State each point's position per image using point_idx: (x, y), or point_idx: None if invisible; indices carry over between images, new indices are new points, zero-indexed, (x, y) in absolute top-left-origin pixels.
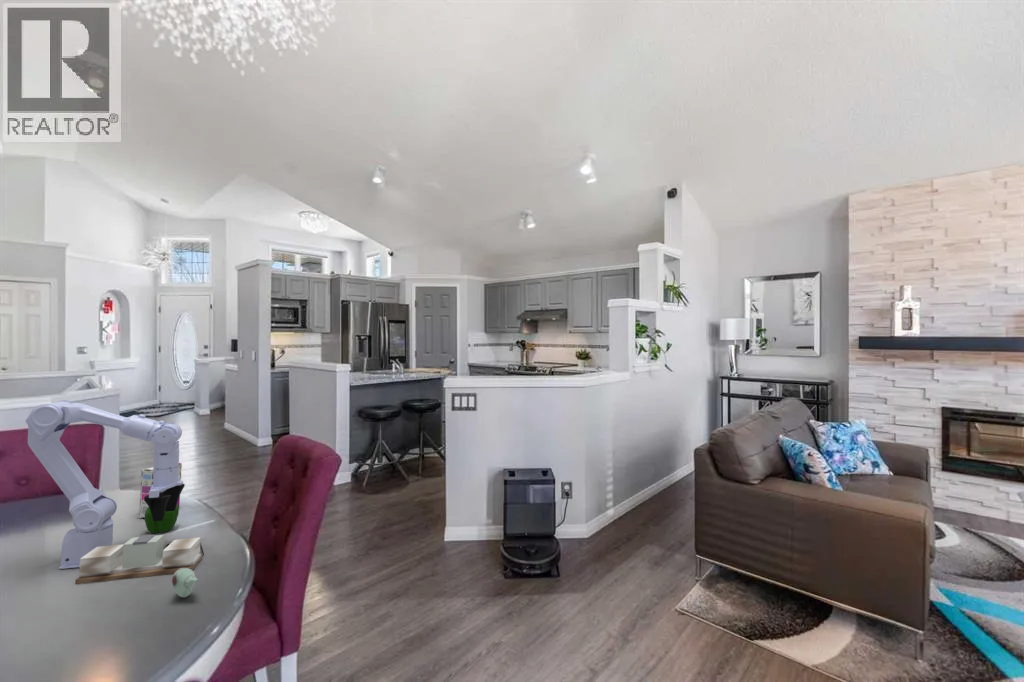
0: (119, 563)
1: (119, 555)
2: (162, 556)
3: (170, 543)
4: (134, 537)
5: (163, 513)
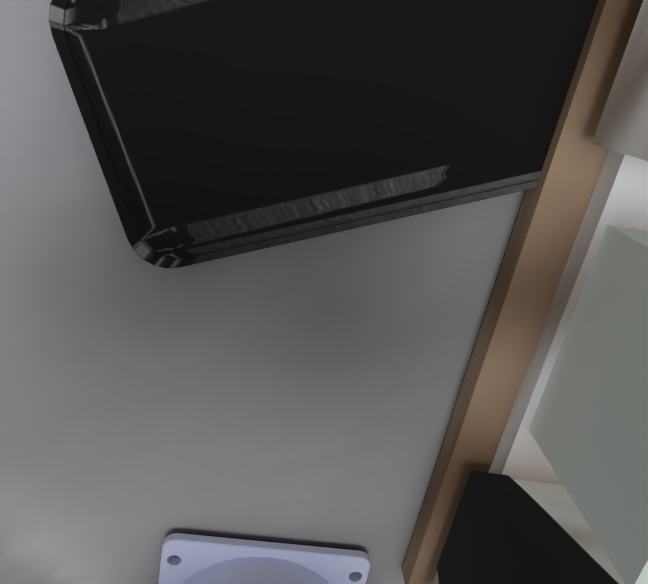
0: (542, 484)
1: (576, 533)
2: (629, 232)
3: (143, 242)
4: (637, 575)
5: (596, 567)
